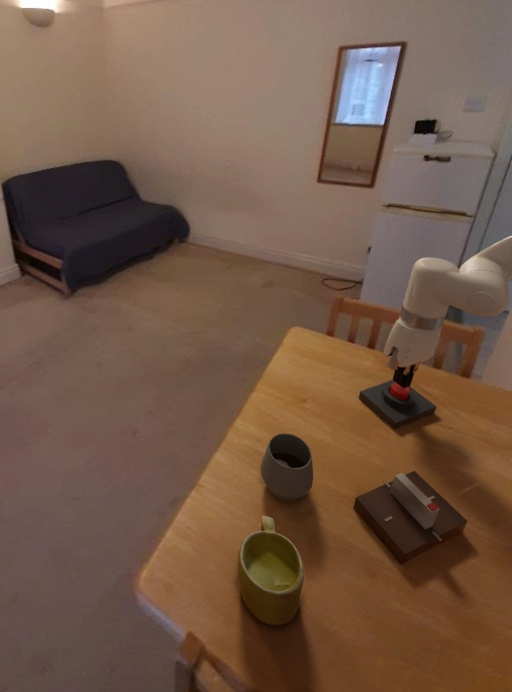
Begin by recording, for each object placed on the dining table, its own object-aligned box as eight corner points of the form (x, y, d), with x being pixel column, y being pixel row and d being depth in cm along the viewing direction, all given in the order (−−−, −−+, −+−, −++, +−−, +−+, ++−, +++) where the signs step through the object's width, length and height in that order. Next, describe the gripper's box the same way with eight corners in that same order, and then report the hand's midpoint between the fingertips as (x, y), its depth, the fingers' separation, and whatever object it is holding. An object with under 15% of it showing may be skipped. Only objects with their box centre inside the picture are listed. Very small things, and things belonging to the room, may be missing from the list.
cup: (257, 502, 75) (261, 466, 71) (260, 459, 83) (264, 424, 79) (311, 516, 72) (319, 479, 68) (309, 470, 80) (316, 435, 76)
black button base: (396, 384, 100) (400, 371, 98) (434, 413, 91) (439, 400, 90) (358, 398, 96) (361, 385, 95) (394, 430, 88) (398, 416, 86)
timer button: (398, 386, 94) (399, 380, 94) (411, 397, 91) (413, 391, 91) (386, 390, 93) (387, 385, 93) (399, 401, 90) (401, 395, 90)
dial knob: (389, 492, 73) (395, 474, 70) (396, 488, 73) (402, 471, 71) (425, 529, 67) (432, 512, 65) (432, 526, 67) (440, 508, 65)
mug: (311, 650, 55) (296, 587, 53) (238, 630, 59) (222, 572, 58) (316, 567, 65) (303, 514, 64) (253, 556, 70) (241, 506, 69)
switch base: (407, 478, 78) (411, 467, 77) (466, 535, 68) (471, 523, 67) (350, 504, 74) (353, 493, 72) (404, 569, 64) (408, 557, 63)
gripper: (431, 299, 89) (411, 364, 97) (378, 314, 84) (362, 381, 92) (465, 317, 82) (440, 385, 90) (410, 334, 78) (389, 404, 86)
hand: (401, 383), depth 91 cm, fingers closed
